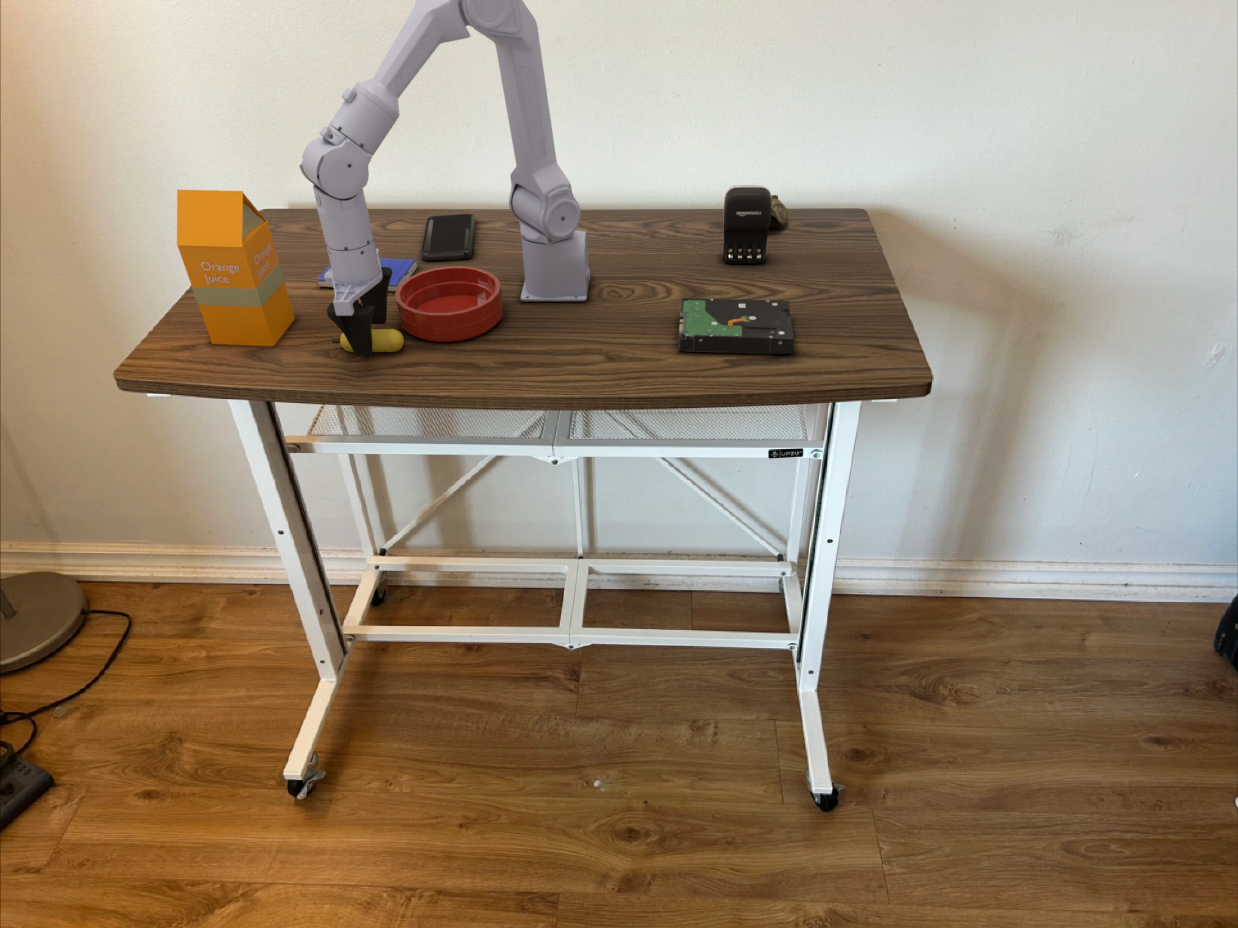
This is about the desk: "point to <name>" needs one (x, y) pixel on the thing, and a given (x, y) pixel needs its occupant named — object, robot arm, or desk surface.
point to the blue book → (398, 266)
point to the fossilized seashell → (778, 212)
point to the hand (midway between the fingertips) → (371, 337)
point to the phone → (448, 237)
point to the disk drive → (735, 326)
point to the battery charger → (746, 224)
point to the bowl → (449, 303)
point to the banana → (377, 340)
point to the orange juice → (232, 267)
